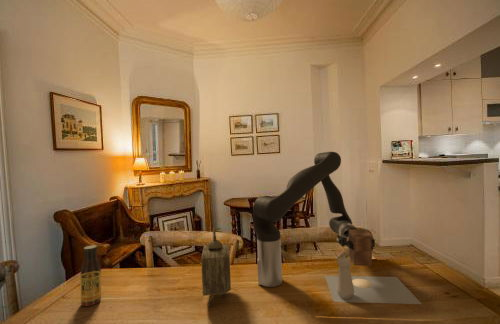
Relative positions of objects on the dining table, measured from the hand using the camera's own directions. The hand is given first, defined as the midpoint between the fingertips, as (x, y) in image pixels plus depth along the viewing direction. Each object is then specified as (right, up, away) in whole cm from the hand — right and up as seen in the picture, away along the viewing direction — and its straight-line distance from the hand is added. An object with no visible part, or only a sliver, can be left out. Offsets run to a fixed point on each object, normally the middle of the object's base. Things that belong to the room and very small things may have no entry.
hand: (362, 247), depth 92 cm
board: (+2, -15, -1) cm, 15 cm away
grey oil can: (-52, -17, -2) cm, 55 cm away
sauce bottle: (-97, -19, -1) cm, 99 cm away
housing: (0, -6, +3) cm, 7 cm away
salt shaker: (-8, -15, -5) cm, 18 cm away
